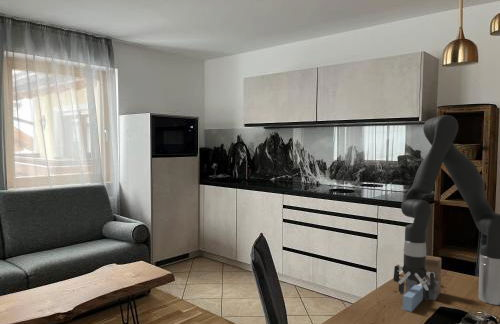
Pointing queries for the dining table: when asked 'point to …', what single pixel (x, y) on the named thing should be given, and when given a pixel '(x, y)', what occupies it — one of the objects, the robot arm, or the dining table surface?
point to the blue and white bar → (413, 297)
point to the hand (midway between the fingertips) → (413, 296)
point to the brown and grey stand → (431, 266)
